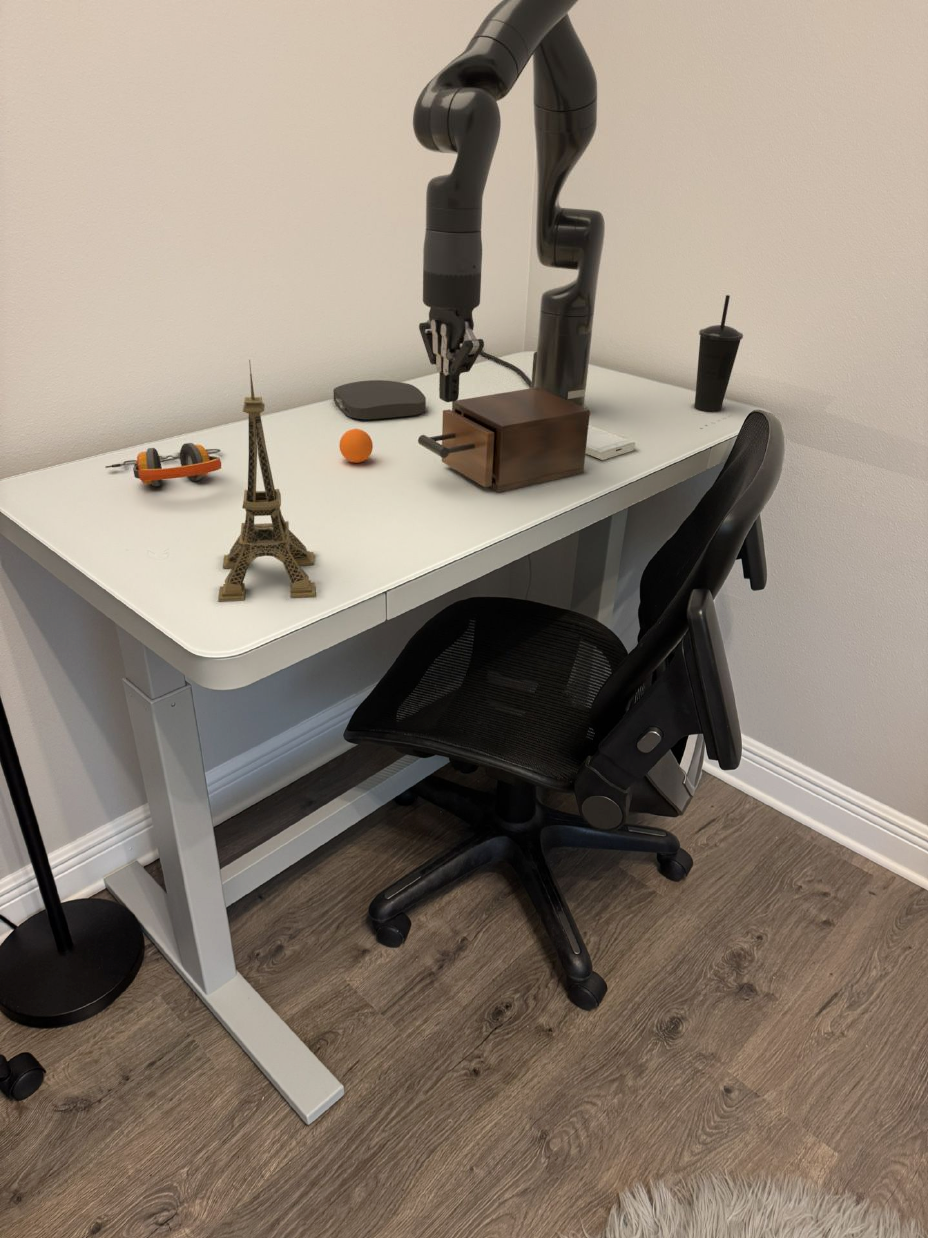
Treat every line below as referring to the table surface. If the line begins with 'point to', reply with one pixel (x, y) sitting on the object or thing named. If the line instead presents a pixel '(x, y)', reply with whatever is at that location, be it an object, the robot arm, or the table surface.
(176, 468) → the headphones
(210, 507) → the table surface
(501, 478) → the cabinet
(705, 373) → the drinking cup
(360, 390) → the media streaming box
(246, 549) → the eiffel tower
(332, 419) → the table surface
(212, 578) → the table surface
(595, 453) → the hard drive
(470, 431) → the drawer
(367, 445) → the ball
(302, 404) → the table surface
